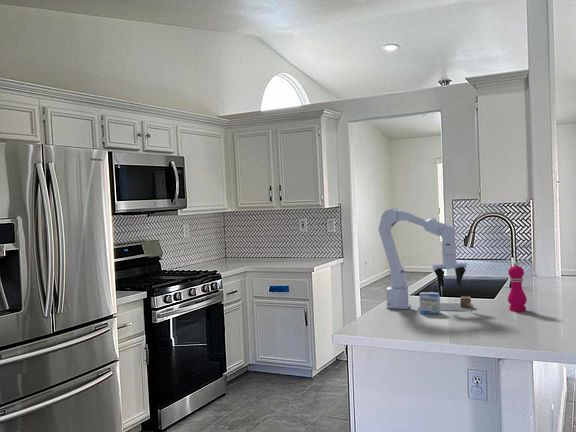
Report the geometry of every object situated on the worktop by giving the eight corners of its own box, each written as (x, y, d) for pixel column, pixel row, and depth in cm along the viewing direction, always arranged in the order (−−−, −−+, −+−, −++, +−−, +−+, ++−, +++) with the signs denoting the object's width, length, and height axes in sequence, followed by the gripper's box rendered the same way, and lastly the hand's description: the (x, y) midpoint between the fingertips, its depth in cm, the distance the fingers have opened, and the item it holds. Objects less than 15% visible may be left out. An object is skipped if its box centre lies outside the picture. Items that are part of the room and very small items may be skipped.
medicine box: (419, 314, 221) (418, 293, 221) (421, 312, 225) (420, 291, 225) (439, 315, 218) (438, 294, 218) (440, 312, 222) (439, 292, 222)
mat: (417, 310, 229) (417, 309, 229) (421, 303, 243) (421, 302, 243) (471, 311, 221) (471, 310, 221) (472, 304, 235) (472, 303, 235)
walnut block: (460, 307, 228) (460, 298, 228) (461, 305, 232) (460, 296, 232) (470, 307, 227) (470, 298, 227) (470, 305, 231) (470, 296, 231)
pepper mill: (527, 309, 221) (525, 261, 221) (527, 312, 214) (525, 263, 214) (508, 308, 224) (506, 261, 224) (507, 311, 218) (505, 263, 217)
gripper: (437, 255, 222) (438, 288, 222) (469, 253, 224) (470, 285, 224) (430, 254, 229) (431, 285, 229) (461, 252, 231) (462, 283, 231)
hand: (450, 285), depth 227 cm, fingers open, 7 cm apart
